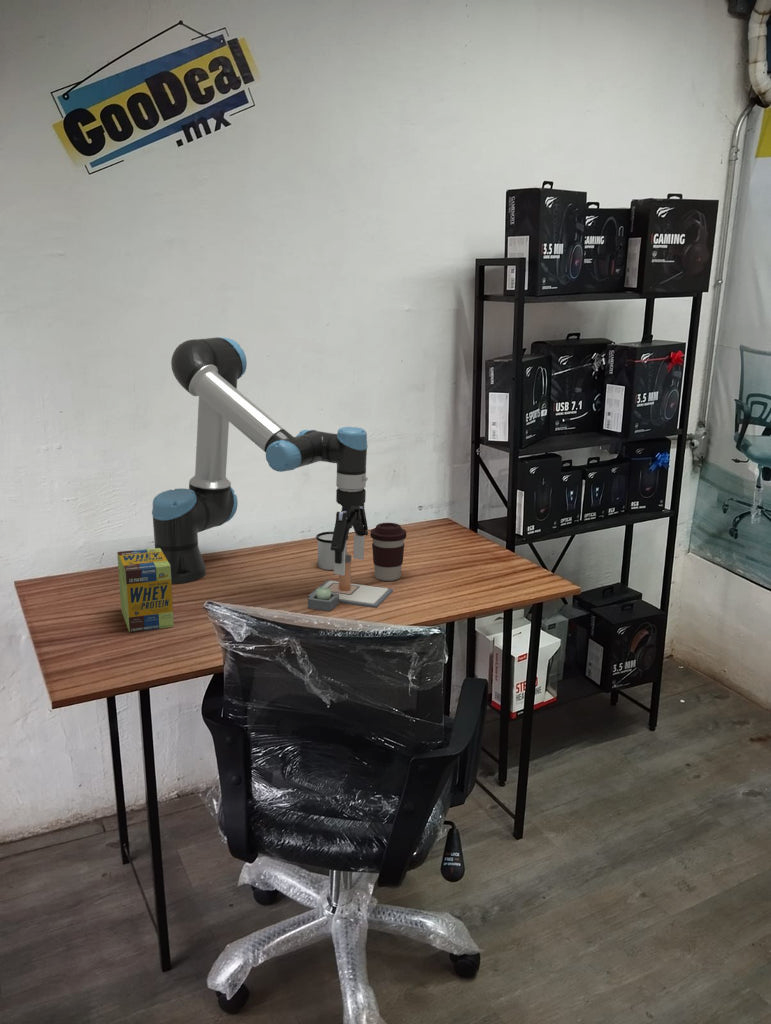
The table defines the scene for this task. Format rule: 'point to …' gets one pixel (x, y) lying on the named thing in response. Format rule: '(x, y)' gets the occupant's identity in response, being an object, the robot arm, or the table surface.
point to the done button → (324, 593)
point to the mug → (326, 550)
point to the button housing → (323, 602)
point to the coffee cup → (388, 550)
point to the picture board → (358, 594)
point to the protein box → (145, 589)
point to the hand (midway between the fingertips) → (349, 566)
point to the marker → (346, 575)
